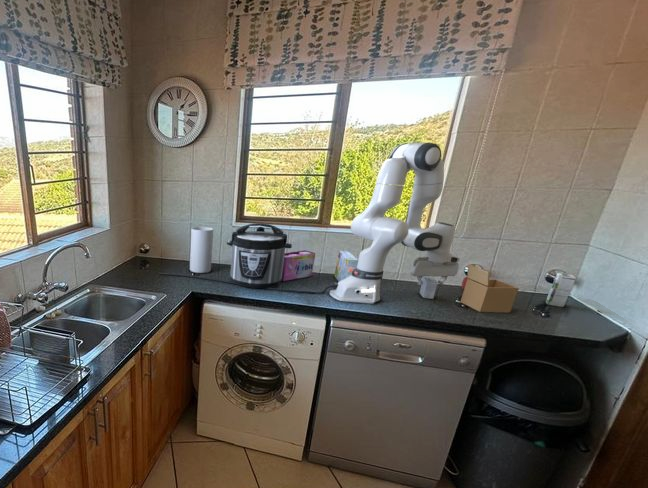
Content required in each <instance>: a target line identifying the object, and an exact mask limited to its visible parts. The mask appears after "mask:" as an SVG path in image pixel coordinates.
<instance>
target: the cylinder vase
mask: <svg viewBox="0 0 648 488" xmlns="http://www.w3.org/2000/svg"><path fill="white" fill-rule="evenodd" d="M190 231H191V232H190V251H189V252H190V254H189V272H192V273H195V274H207V273H210V272H211V270H212V258H213V257H212V256H213V244H214V243H213V241H214V227H211V226H194V227H191V230H190Z"/></svg>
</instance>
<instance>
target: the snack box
mask: <svg viewBox="0 0 648 488" xmlns="http://www.w3.org/2000/svg"><path fill="white" fill-rule="evenodd" d="M358 259H359V258H357V257H356V256H355V255H354V254H352V253H351V252H350V251H344V250H339V251H338V255H337V260H336V265H335V270H334V275H333V276H334V278H335V279H336V281H337V282H339V281H341V280H343V279H345V278H347V277H349V276H350V275H352V272H349V271H348V269H349V268H353V269H355V268H356V267H357V264H358Z"/></svg>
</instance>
